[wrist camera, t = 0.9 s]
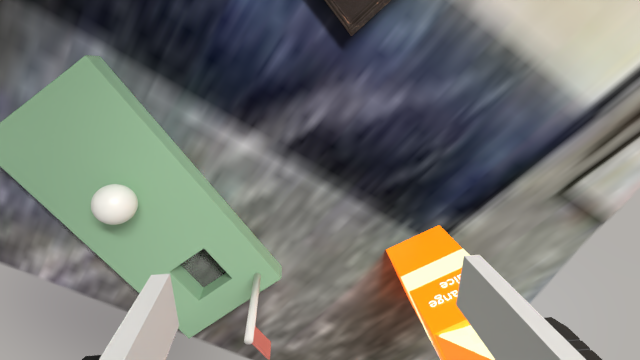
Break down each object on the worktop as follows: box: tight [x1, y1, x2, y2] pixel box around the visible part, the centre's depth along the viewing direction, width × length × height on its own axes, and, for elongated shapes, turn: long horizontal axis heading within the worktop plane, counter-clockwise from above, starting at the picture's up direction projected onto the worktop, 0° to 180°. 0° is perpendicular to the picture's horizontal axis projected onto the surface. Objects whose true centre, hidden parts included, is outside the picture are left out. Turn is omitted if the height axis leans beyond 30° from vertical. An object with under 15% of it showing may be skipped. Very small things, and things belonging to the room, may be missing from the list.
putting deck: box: [0, 55, 282, 360], centre depth 33 cm, size 31×14×12 cm, turn 34°
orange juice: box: [386, 225, 495, 360], centre depth 35 cm, size 8×9×20 cm
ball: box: [91, 184, 138, 225], centre depth 33 cm, size 4×4×4 cm
